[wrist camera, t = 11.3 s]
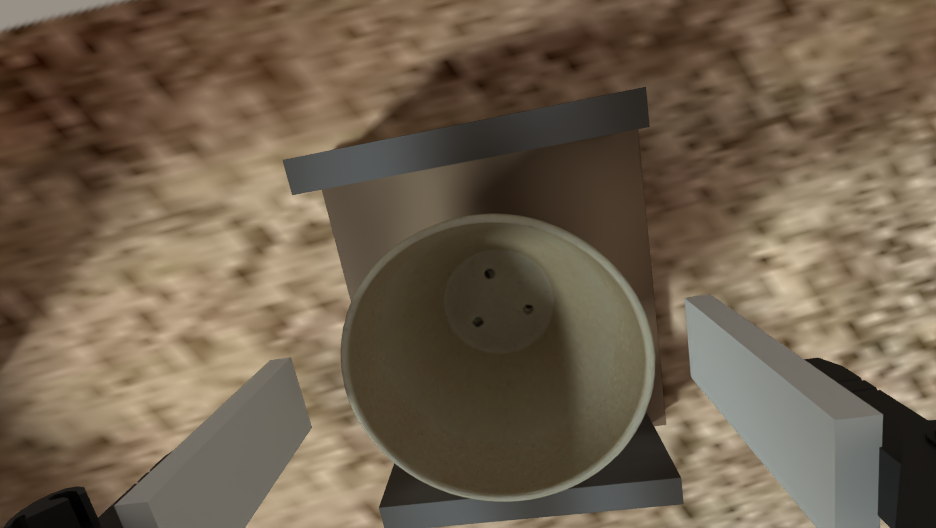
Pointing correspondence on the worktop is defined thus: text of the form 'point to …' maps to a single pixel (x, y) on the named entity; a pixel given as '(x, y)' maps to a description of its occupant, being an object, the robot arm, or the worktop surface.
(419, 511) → the cradle
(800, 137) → the worktop surface
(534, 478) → the flower pot
